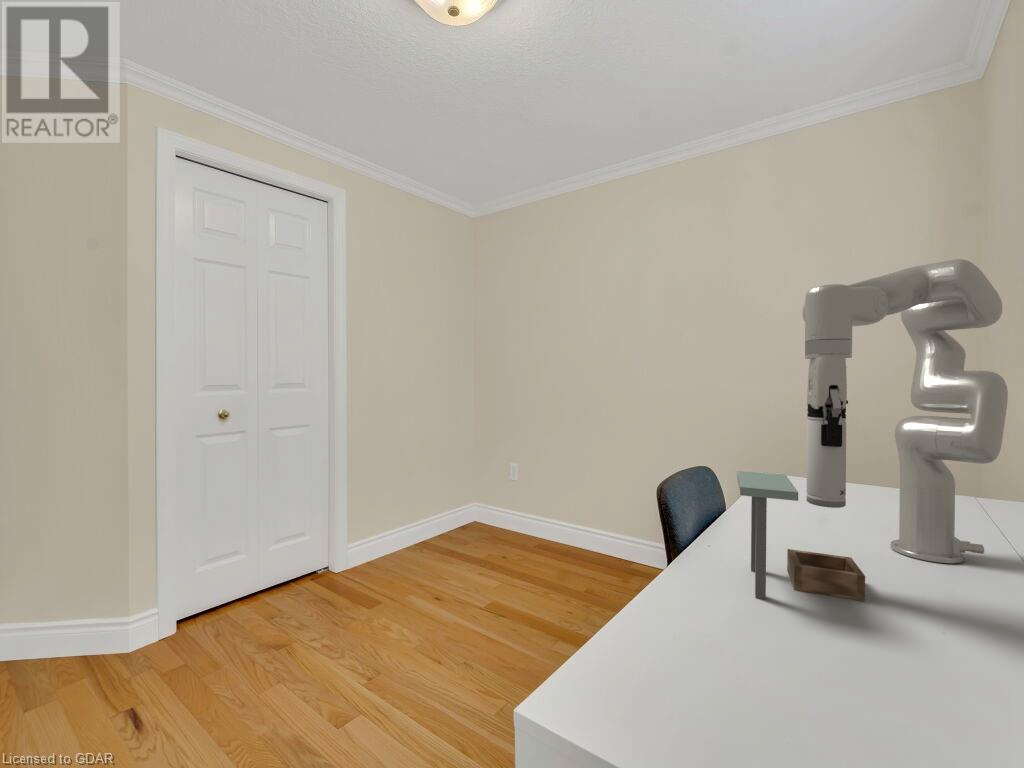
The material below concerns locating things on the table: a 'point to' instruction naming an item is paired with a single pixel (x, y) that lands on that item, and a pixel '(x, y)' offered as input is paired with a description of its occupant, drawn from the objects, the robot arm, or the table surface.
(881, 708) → the table surface
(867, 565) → the table surface
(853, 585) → the brown wooden tray
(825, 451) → the travel mug
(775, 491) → the panel
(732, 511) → the table surface
